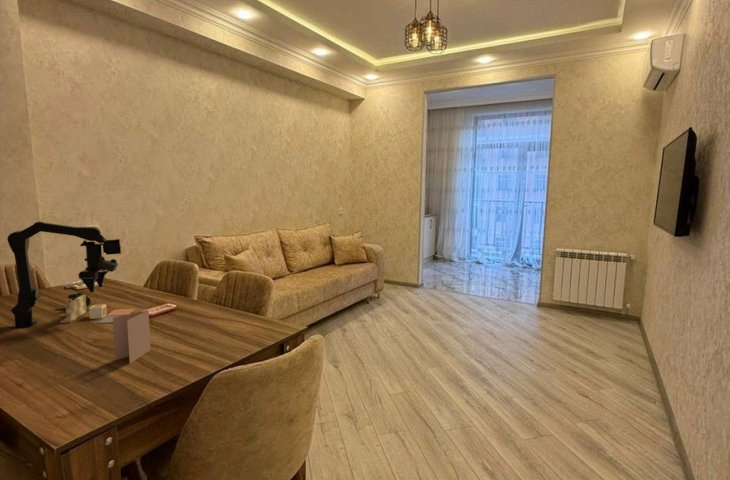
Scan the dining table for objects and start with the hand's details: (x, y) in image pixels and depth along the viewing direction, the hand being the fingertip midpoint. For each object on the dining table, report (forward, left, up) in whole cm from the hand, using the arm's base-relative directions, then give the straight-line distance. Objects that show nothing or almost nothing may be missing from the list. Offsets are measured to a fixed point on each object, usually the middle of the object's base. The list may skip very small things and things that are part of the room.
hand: (96, 289), depth 178 cm
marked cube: (0, 0, -13) cm, 13 cm away
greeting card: (-51, -30, -13) cm, 61 cm away
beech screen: (+2, +10, -13) cm, 16 cm away
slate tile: (-6, -8, -12) cm, 16 cm away
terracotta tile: (+4, -8, -12) cm, 15 cm away
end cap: (+17, +14, -13) cm, 26 cm away
